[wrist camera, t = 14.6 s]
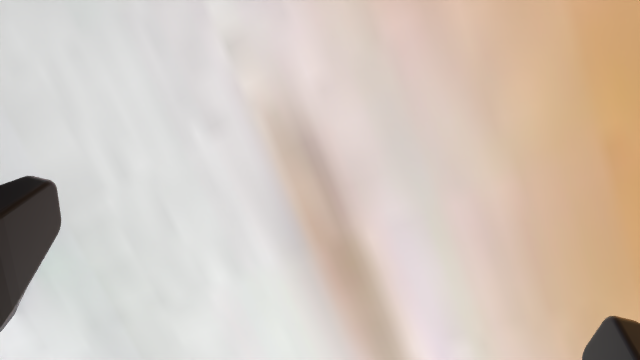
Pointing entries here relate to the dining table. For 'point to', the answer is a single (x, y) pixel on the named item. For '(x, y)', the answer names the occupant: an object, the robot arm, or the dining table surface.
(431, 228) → the dining table surface
